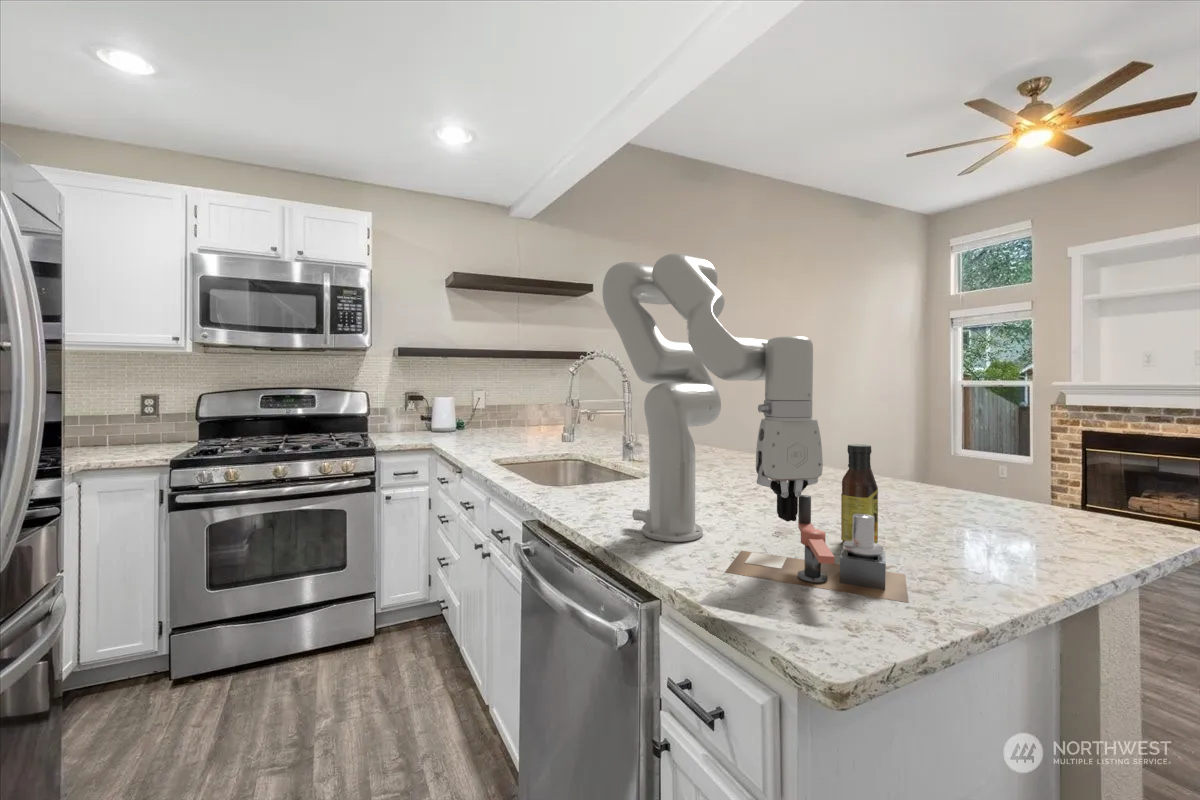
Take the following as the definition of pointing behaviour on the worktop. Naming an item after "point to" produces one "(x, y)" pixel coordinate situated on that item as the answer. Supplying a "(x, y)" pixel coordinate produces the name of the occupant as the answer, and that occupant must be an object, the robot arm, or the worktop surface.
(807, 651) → the worktop surface
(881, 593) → the board
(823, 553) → the lever
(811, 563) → the pivot post
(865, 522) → the peg
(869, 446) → the sauce bottle
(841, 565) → the block
